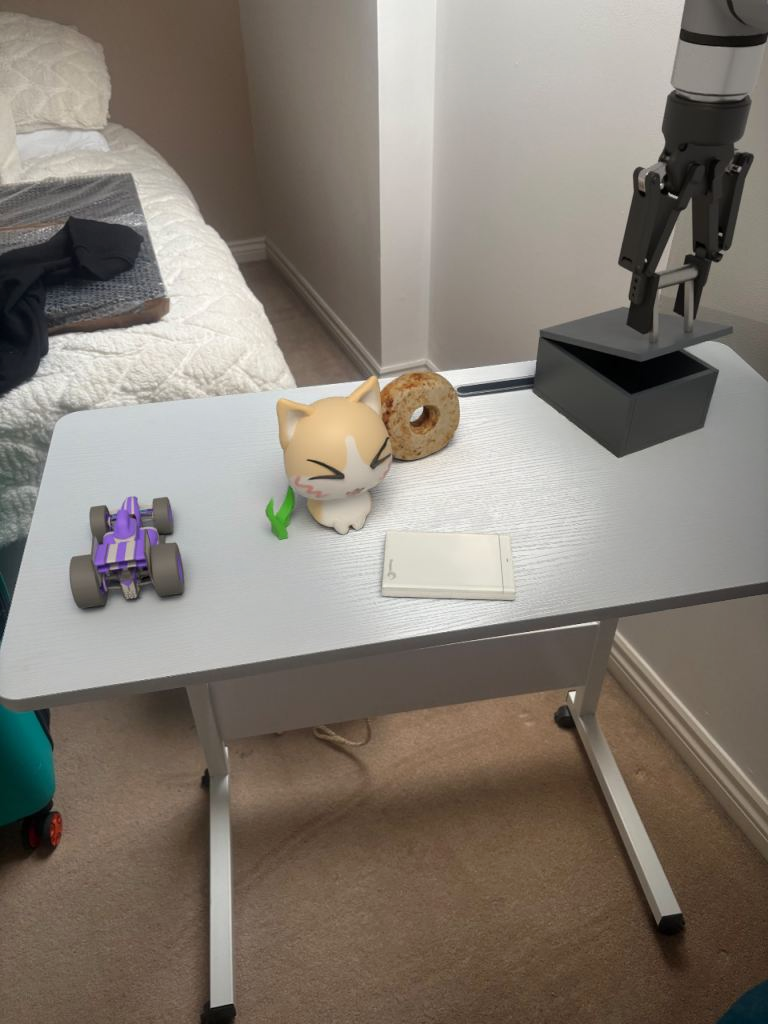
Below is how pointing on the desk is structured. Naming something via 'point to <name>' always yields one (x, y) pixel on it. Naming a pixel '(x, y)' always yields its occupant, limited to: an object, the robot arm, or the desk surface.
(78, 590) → the toy race car
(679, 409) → the black box
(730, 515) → the desk surface
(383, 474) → the kitten
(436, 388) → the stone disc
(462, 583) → the hard drive
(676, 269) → the box lid
